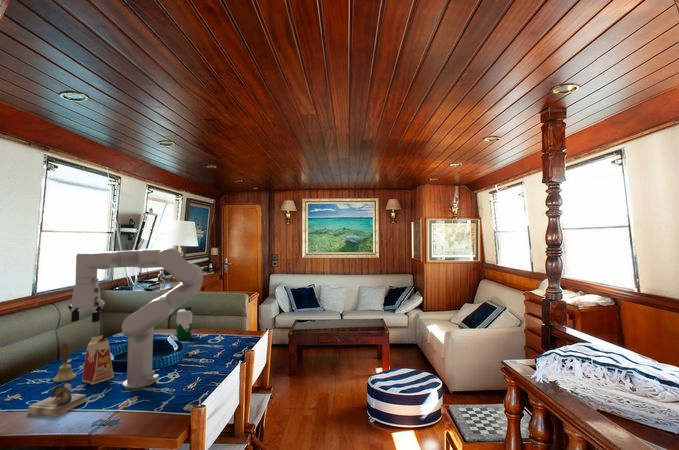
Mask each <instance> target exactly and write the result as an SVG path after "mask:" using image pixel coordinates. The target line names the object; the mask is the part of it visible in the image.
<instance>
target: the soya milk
mask: <svg viewBox="0 0 679 450" xmlns="http://www.w3.org/2000/svg"><path fill="white" fill-rule="evenodd" d="M192 331H193V308H192V305H191V306H190V305H188V306H185V307H184V309H179V310H177V311H176V339H186V340H190V339H191V338H192V333H193V332H192ZM189 338H190V339H189Z"/></svg>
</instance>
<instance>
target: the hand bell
mask: <svg viewBox="0 0 679 450" xmlns="http://www.w3.org/2000/svg"><path fill="white" fill-rule="evenodd" d="M62 344H63V345H62V347H61V355H62V365H60V366H59V367H58V371H57V374H56V376H55V377H54V378H53V379H52V381H53V382H54V383H59V382H66V381H70V380H73V379H75V378H76V377H77V374H75V373H74V371H73V370H72V365H71V364H68V355H69V350H70V349H69V345H68V342H64V343H62Z"/></svg>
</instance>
